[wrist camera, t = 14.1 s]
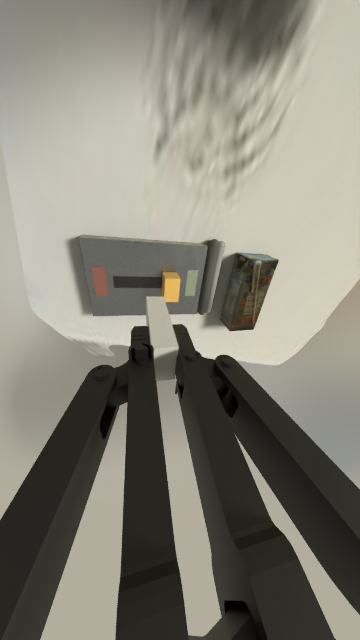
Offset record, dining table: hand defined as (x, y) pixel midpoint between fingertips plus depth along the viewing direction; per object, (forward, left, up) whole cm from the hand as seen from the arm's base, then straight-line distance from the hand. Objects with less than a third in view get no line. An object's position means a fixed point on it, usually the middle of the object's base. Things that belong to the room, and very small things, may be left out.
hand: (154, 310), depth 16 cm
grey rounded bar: (+6, +15, -26) cm, 30 cm away
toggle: (+6, +5, -22) cm, 24 cm away
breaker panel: (+6, +1, -26) cm, 26 cm away
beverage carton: (+9, +25, -26) cm, 37 cm away
